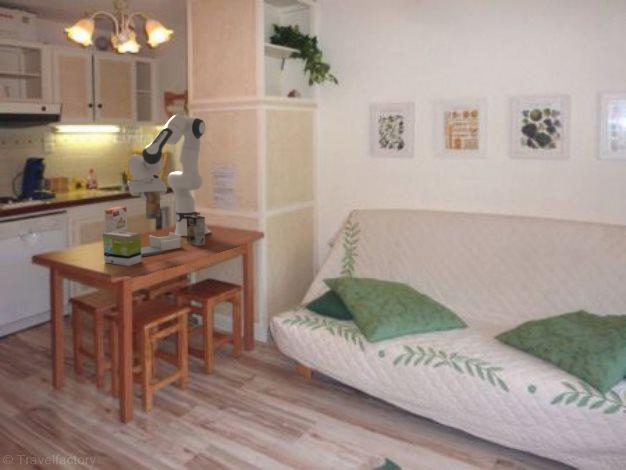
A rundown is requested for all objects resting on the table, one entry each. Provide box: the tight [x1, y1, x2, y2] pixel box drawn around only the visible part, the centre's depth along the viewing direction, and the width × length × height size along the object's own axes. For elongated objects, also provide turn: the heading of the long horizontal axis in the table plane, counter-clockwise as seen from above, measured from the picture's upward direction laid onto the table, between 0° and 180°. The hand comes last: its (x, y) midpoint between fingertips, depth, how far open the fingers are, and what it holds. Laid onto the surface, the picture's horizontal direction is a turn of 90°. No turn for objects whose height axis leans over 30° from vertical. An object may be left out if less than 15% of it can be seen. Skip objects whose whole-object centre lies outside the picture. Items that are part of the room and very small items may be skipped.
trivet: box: [141, 245, 164, 258], centre depth 293 cm, size 14×14×2 cm
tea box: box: [102, 231, 142, 267], centre depth 271 cm, size 15×10×15 cm, turn 69°
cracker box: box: [104, 206, 128, 234], centre depth 311 cm, size 14×6×21 cm, turn 168°
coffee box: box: [186, 215, 206, 247], centre depth 315 cm, size 9×6×16 cm
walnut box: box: [145, 192, 161, 220], centre depth 295 cm, size 6×4×14 cm, turn 136°
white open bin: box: [148, 231, 182, 252], centre depth 306 cm, size 13×11×7 cm
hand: (153, 200), depth 294 cm, fingers closed on walnut box, 6 cm apart
